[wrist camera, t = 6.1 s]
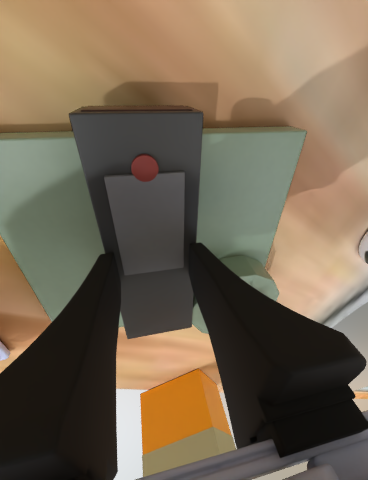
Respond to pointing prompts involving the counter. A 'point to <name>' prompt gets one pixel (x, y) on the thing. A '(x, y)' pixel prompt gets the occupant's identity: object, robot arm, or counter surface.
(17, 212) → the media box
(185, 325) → the remote
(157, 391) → the orange juice
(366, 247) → the pill bottle
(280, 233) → the counter surface
